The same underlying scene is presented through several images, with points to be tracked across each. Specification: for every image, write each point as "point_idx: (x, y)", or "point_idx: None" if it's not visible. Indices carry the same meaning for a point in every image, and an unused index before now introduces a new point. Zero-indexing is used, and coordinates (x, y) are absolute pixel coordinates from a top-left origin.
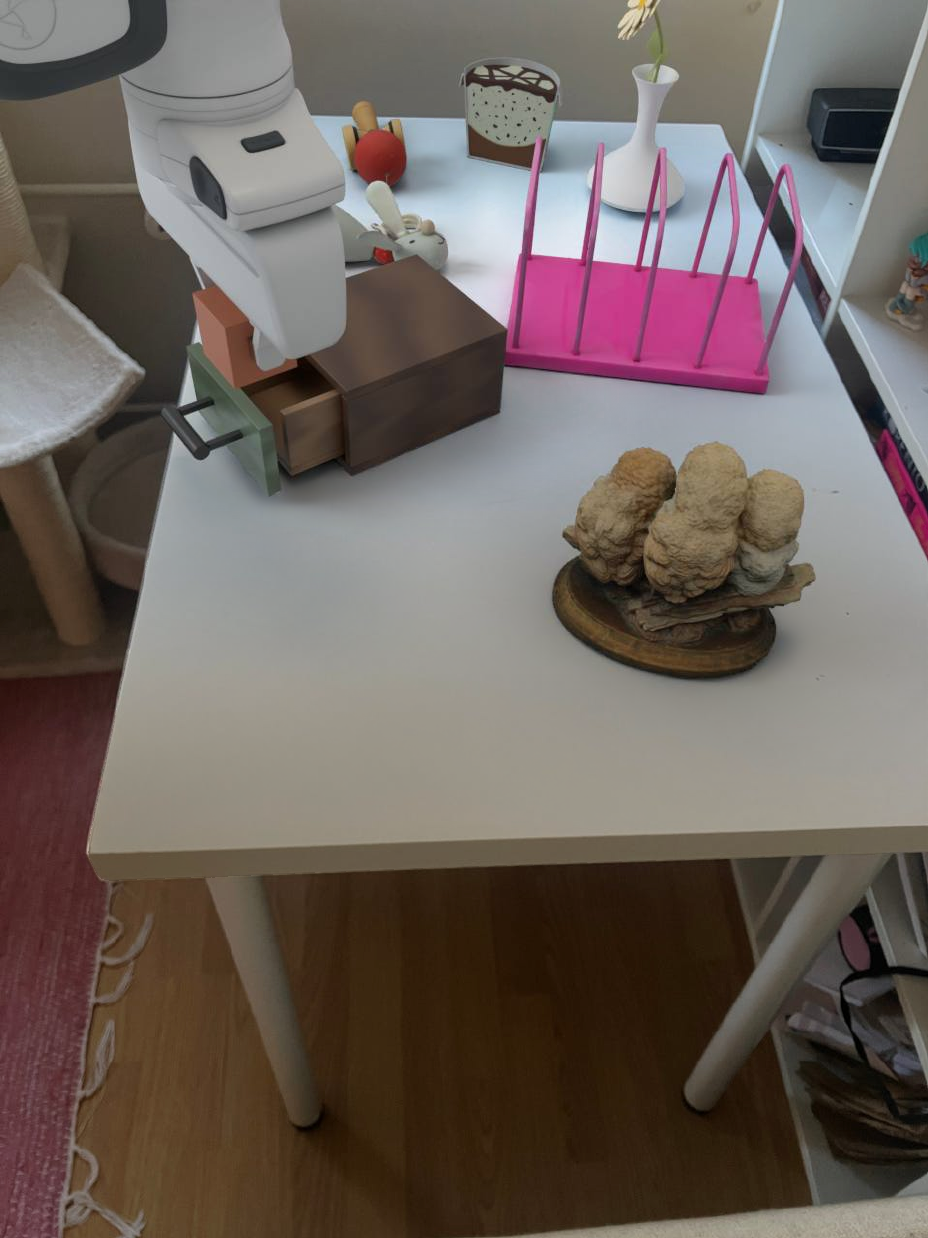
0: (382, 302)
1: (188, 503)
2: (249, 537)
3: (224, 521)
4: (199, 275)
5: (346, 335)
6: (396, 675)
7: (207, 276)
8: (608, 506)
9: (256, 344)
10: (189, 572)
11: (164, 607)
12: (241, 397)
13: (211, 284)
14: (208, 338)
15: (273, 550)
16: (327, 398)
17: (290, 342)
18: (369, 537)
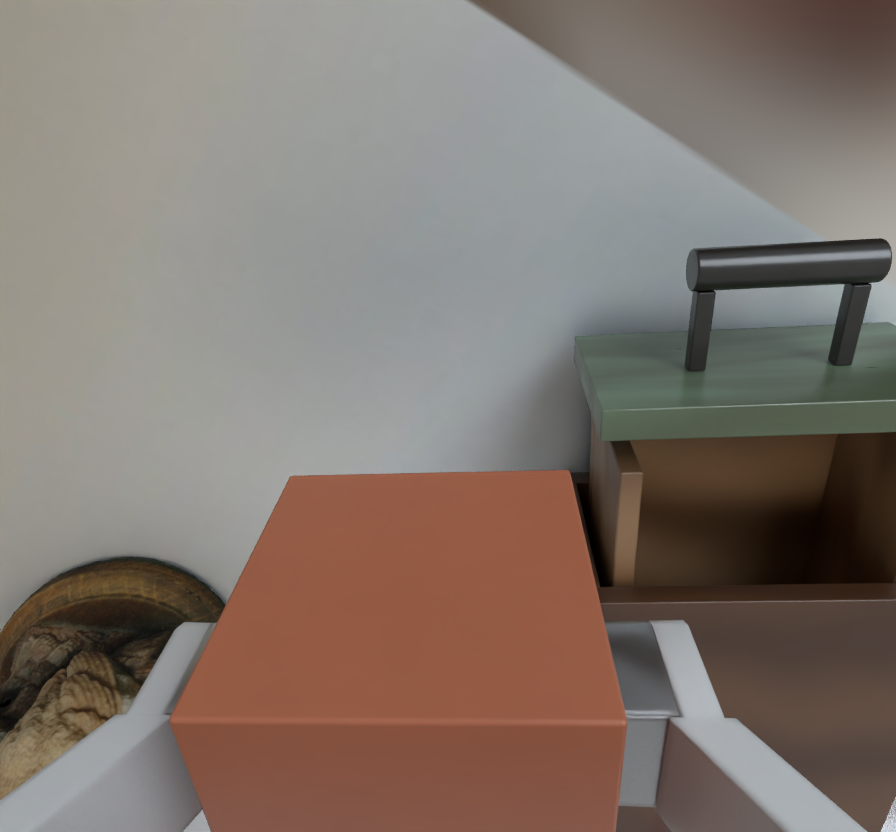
0: (786, 760)
1: (672, 191)
2: (516, 259)
3: (582, 235)
4: (766, 806)
5: (743, 676)
6: (120, 330)
7: (738, 819)
8: (18, 780)
9: (105, 736)
10: (491, 111)
11: (426, 19)
12: (732, 424)
13: (702, 780)
14: (475, 551)
15: (462, 283)
16: (616, 560)
17: None
18: (410, 431)
